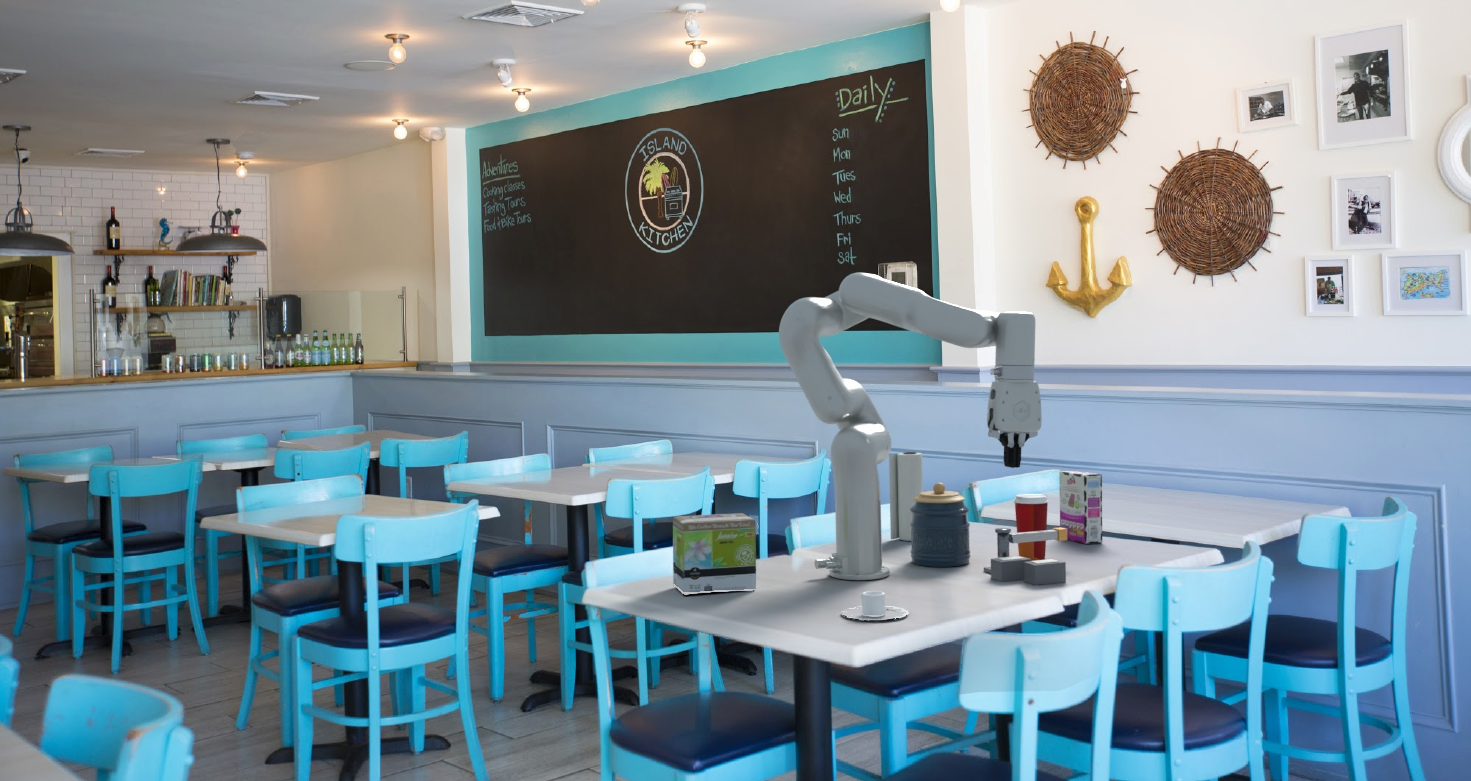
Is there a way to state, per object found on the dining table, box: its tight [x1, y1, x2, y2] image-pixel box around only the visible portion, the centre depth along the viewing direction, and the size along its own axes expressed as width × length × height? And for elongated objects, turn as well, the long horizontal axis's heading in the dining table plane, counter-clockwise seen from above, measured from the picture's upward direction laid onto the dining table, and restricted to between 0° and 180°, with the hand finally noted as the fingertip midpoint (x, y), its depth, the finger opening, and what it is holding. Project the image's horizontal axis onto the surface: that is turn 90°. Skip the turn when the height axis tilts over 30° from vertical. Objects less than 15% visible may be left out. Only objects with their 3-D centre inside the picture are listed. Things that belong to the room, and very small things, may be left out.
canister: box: [910, 482, 971, 568], centre depth 263 cm, size 13×13×18 cm
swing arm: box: [1009, 526, 1068, 544], centre depth 252 cm, size 13×2×2 cm, turn 109°
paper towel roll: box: [888, 451, 924, 542], centre depth 293 cm, size 7×6×21 cm
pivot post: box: [983, 527, 1012, 574], centre depth 250 cm, size 6×6×9 cm
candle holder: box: [841, 590, 909, 622], centre depth 215 cm, size 12×12×4 cm
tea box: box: [672, 512, 757, 592], centre depth 240 cm, size 15×10×15 cm, turn 105°
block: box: [990, 555, 1031, 583], centre depth 243 cm, size 7×4×4 cm, turn 109°
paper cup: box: [1012, 493, 1050, 561], centre depth 265 cm, size 8×8×14 cm
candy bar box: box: [1058, 470, 1103, 545], centre depth 286 cm, size 11×5×16 cm, turn 17°
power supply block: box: [1023, 558, 1067, 586], centre depth 239 cm, size 7×4×4 cm, turn 109°
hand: (1012, 466), depth 237 cm, fingers closed
